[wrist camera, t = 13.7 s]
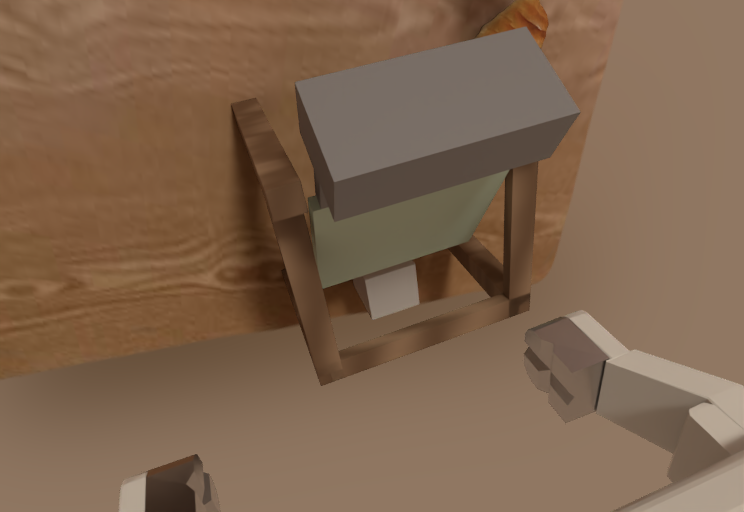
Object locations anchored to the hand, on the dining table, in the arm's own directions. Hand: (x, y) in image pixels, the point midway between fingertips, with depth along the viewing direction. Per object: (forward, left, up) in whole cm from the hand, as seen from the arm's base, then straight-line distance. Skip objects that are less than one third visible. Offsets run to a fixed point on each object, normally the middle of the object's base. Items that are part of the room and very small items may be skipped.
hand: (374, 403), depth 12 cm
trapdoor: (+9, -6, -24) cm, 26 cm away
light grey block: (+9, -22, -28) cm, 37 cm away
